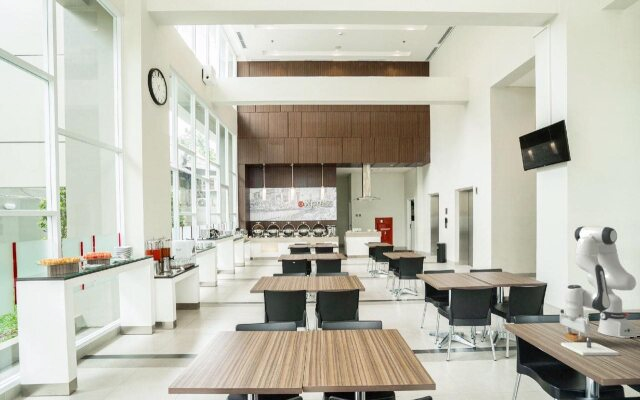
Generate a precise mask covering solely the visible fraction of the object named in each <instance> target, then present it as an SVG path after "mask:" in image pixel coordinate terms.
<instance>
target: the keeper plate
mask: <svg viewBox="0 0 640 400" xmlns="http://www.w3.org/2000/svg"><path fill="white" fill-rule="evenodd" d="M560 345H561V346H562V347H564V348H565V349H568V350H570V351H572V352H575V353H577V354H579V355H581V356H586V357H587V356H619V355H620V352H619V351H617V350H614V349H611V348H609V347H606V346H604V345H601V344H600V343H597V342H592V338H591V337H586V342H560Z"/></svg>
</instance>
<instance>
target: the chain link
mask: <svg viewBox="0 0 640 400" xmlns="http://www.w3.org/2000/svg"><path fill="white" fill-rule="evenodd" d="M577 335H579V333H577V332H572V333H568V332H565V339H566V340H570V341H571V342H585V336H584V335H583V336H582V339H578V338H577Z"/></svg>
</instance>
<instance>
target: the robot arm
mask: <svg viewBox="0 0 640 400" xmlns="http://www.w3.org/2000/svg"><path fill="white" fill-rule="evenodd" d="M574 238H575V241H576V247H575V256H574V257H575V264H576V265H577V267H579V268H580V269H582V270H583V271H585V272H587V273H588V274H587V282H588V283H589V284H590V285H591V286H592V287H593V288H594V289H595V292H594V291H590V290H586V289H584V288H583V287H582V286H581V285H579V284H570V285H568V286H567V287H566V289H565V301H566V302H565V303H566V304H565V308H561V309H559V313H560V314H559V323H560V325H562V326H564V327H565V329H566V332H567V333H573V332H572V330H574V331H577V332H578V334H579V335H577V338H578V339H582V336H584V334H585V335H586V334H590V333H591V324H590V321H589V319H588V317H587V316H585V315H584V314H585V313H584V308H588V309H592V310H595V311H598V312H599V324H598V327H597V328H598V329H597V333H599V334H602V335H604V336H605V335H606V336H608V337H611V336H612V337H615V338H620V339H630V337H634V338H638V337H637V336H640V333H638V332H637V329H636V326H635V324H633V323H632V322H630V321H629V320H628V319H627V318H628V317H629V316H630V314H629V313H627V312H623V300H622V298H621V297H620V296H618V295H617V294H615V292H614V291H613V290H616V291H633V290H634V289H635V287H636V285H637V281H636V280H637V279H636V277H634V276H633V275H632V274H631V273H630V272H628V271H627V270H626V269H625V268H624V267H623V265H622V264H621V262H620V259H619V254H618V249H617V245H616V241H617V239H618V233H617V231H616V230H615V229H614V228H612V227H610V226H598V225H597V226H596V225H594V226H591V225H590V226H579V227H577V228H576V229H575V231H574ZM604 269H605V270H604ZM626 317H627V318H626ZM571 329H572V330H571Z"/></svg>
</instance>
